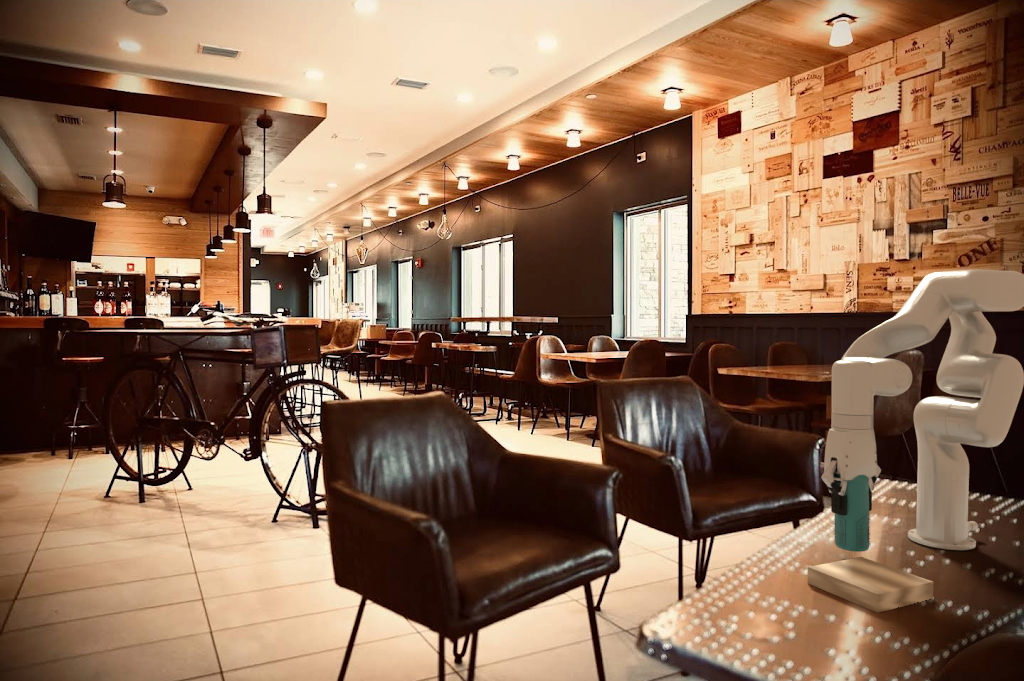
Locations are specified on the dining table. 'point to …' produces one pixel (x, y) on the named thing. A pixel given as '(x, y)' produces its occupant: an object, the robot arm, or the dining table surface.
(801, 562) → the dining table surface
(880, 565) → the birch plinth
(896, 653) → the dining table surface
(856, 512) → the beverage bottle
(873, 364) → the robot arm
